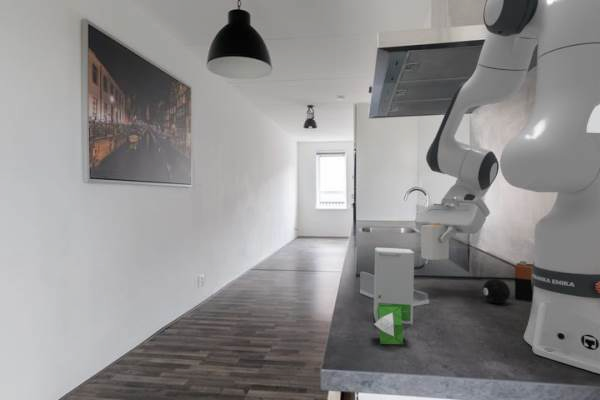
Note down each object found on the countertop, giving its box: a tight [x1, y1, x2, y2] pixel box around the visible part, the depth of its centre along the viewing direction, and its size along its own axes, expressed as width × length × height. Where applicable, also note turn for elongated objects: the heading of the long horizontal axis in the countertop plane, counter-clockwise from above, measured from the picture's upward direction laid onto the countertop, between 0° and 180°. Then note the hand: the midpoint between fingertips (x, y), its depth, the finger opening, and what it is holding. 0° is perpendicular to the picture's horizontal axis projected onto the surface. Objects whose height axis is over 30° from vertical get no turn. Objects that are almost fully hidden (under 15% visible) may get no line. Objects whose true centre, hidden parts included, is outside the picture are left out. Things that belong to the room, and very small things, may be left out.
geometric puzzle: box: [371, 306, 412, 345], centre depth 69 cm, size 7×7×8 cm
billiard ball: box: [482, 278, 511, 304], centre depth 94 cm, size 6×6×6 cm
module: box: [420, 223, 450, 261], centre depth 101 cm, size 4×6×10 cm, turn 116°
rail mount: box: [359, 271, 430, 307], centre depth 99 cm, size 16×10×6 cm, turn 26°
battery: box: [514, 260, 534, 302], centre depth 97 cm, size 4×7×10 cm, turn 54°
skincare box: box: [373, 247, 415, 325], centre depth 82 cm, size 8×7×16 cm
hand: (433, 240), depth 101 cm, fingers closed on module, 4 cm apart
